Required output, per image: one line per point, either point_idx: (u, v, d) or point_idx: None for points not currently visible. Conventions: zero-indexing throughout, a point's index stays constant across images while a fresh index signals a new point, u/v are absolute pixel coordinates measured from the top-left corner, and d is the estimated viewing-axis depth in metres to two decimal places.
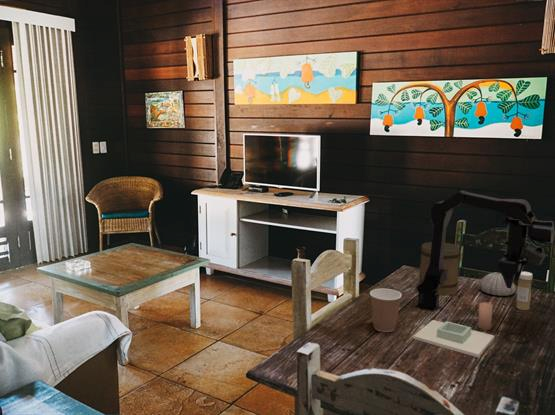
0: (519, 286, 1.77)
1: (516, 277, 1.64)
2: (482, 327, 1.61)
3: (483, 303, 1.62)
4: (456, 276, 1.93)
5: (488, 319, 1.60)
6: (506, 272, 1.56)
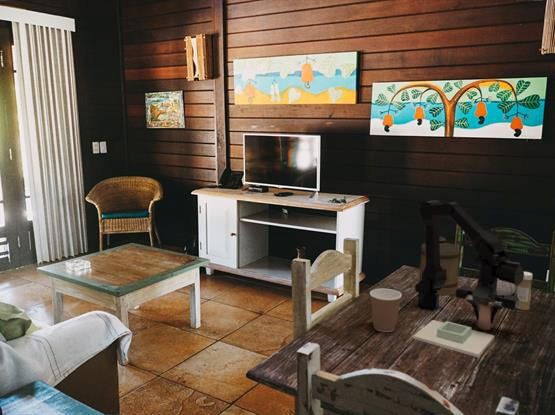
0: (519, 286, 1.77)
1: None
2: (482, 327, 1.61)
3: None
4: (456, 276, 1.93)
5: (488, 319, 1.60)
6: None
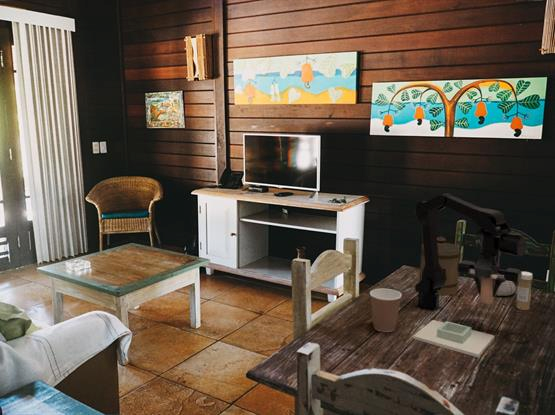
0: (519, 286, 1.77)
1: None
2: (484, 301, 1.60)
3: None
4: (456, 276, 1.93)
5: (490, 293, 1.59)
6: None
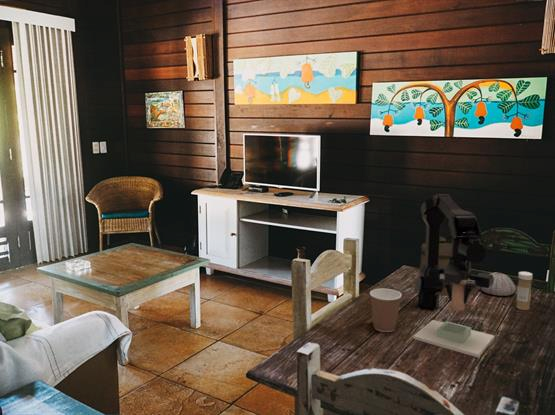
0: (519, 286, 1.77)
1: None
2: (455, 308, 1.51)
3: None
4: None
5: (461, 299, 1.50)
6: None
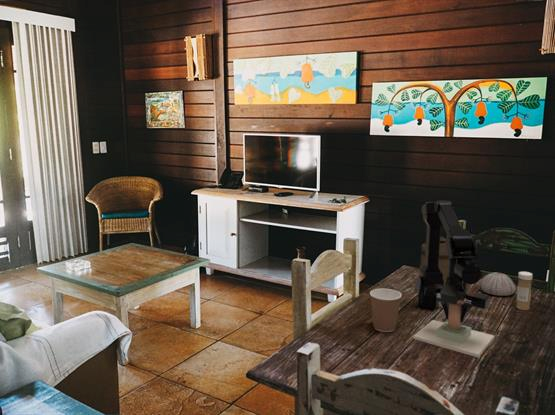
0: (519, 286, 1.77)
1: None
2: (452, 327, 1.52)
3: None
4: None
5: (458, 318, 1.51)
6: None
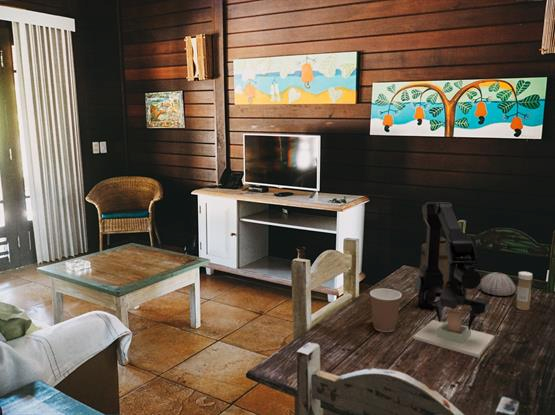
0: (519, 286, 1.77)
1: None
2: None
3: (452, 311, 1.53)
4: None
5: (457, 327, 1.52)
6: None
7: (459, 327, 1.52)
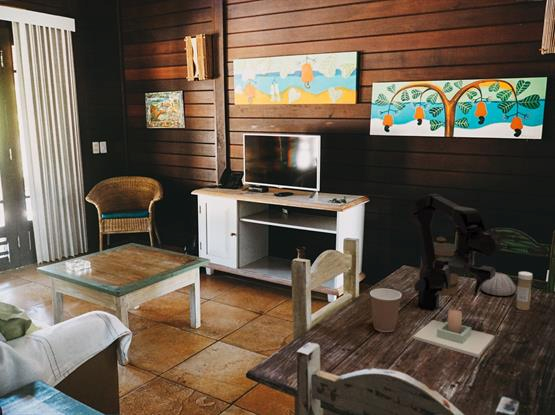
0: (519, 286, 1.77)
1: None
2: None
3: (452, 311, 1.53)
4: (456, 276, 1.93)
5: (457, 327, 1.52)
6: None
7: (459, 327, 1.52)
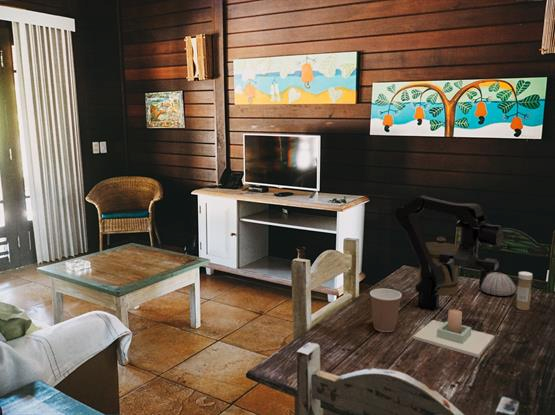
0: (519, 286, 1.77)
1: None
2: None
3: (452, 311, 1.53)
4: (456, 276, 1.93)
5: (457, 327, 1.52)
6: None
7: (459, 327, 1.52)
